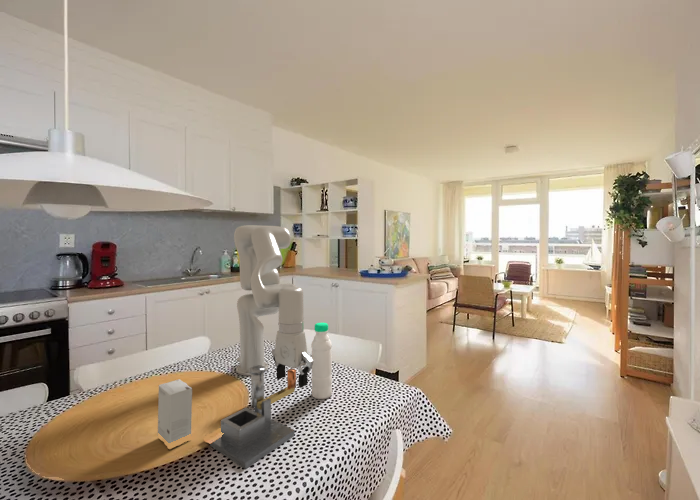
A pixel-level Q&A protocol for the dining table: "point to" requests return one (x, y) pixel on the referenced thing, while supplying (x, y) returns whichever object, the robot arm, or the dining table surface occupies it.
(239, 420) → the dock
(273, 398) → the lock pin
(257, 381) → the grey cylinder
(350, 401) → the dining table surface
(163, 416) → the skincare box
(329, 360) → the water bottle
